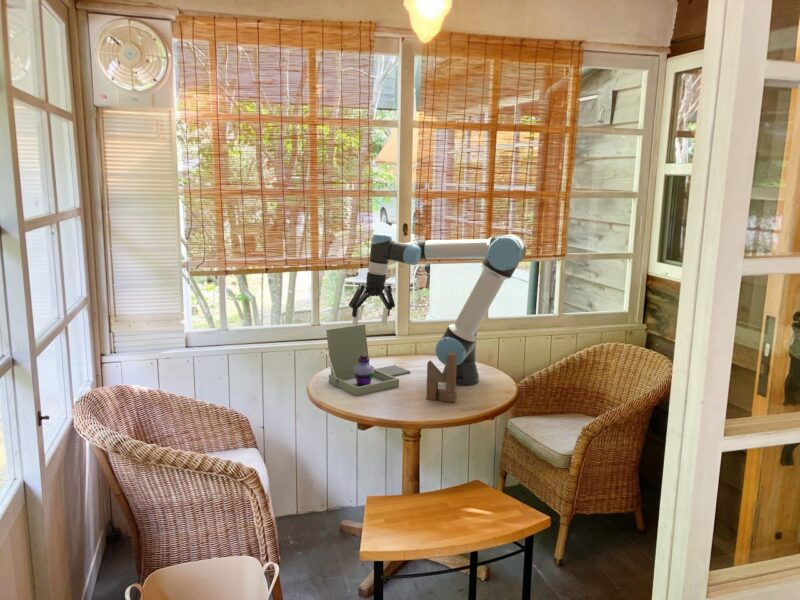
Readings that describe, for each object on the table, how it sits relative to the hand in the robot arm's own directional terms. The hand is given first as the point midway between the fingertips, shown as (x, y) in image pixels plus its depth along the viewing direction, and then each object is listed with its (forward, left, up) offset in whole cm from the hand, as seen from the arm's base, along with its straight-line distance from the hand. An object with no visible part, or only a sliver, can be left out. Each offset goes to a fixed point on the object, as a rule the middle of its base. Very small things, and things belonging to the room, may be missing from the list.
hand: (369, 324), depth 250 cm
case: (-2, +6, -23) cm, 24 cm away
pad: (+3, -14, -23) cm, 27 cm away
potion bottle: (-4, +5, -23) cm, 24 cm away
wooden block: (-35, -9, -23) cm, 43 cm away
